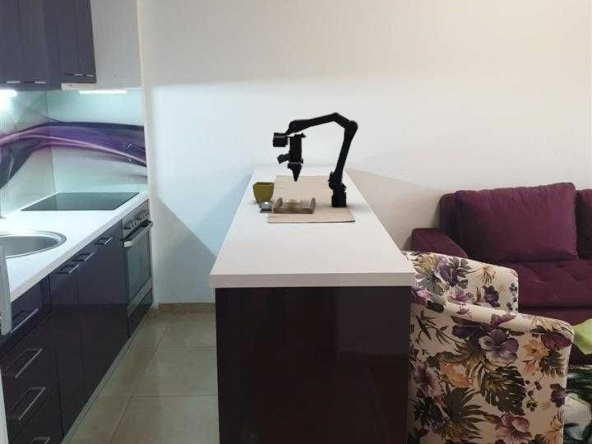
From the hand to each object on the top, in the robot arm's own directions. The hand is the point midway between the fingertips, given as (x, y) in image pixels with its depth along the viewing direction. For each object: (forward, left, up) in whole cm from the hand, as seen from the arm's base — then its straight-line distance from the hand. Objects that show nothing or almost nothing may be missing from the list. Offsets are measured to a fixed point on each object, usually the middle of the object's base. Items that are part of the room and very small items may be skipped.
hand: (295, 181), depth 287 cm
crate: (0, +14, -11) cm, 18 cm away
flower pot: (+16, -5, -11) cm, 20 cm away
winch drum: (+12, +16, -11) cm, 22 cm away
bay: (0, +7, -11) cm, 13 cm away
